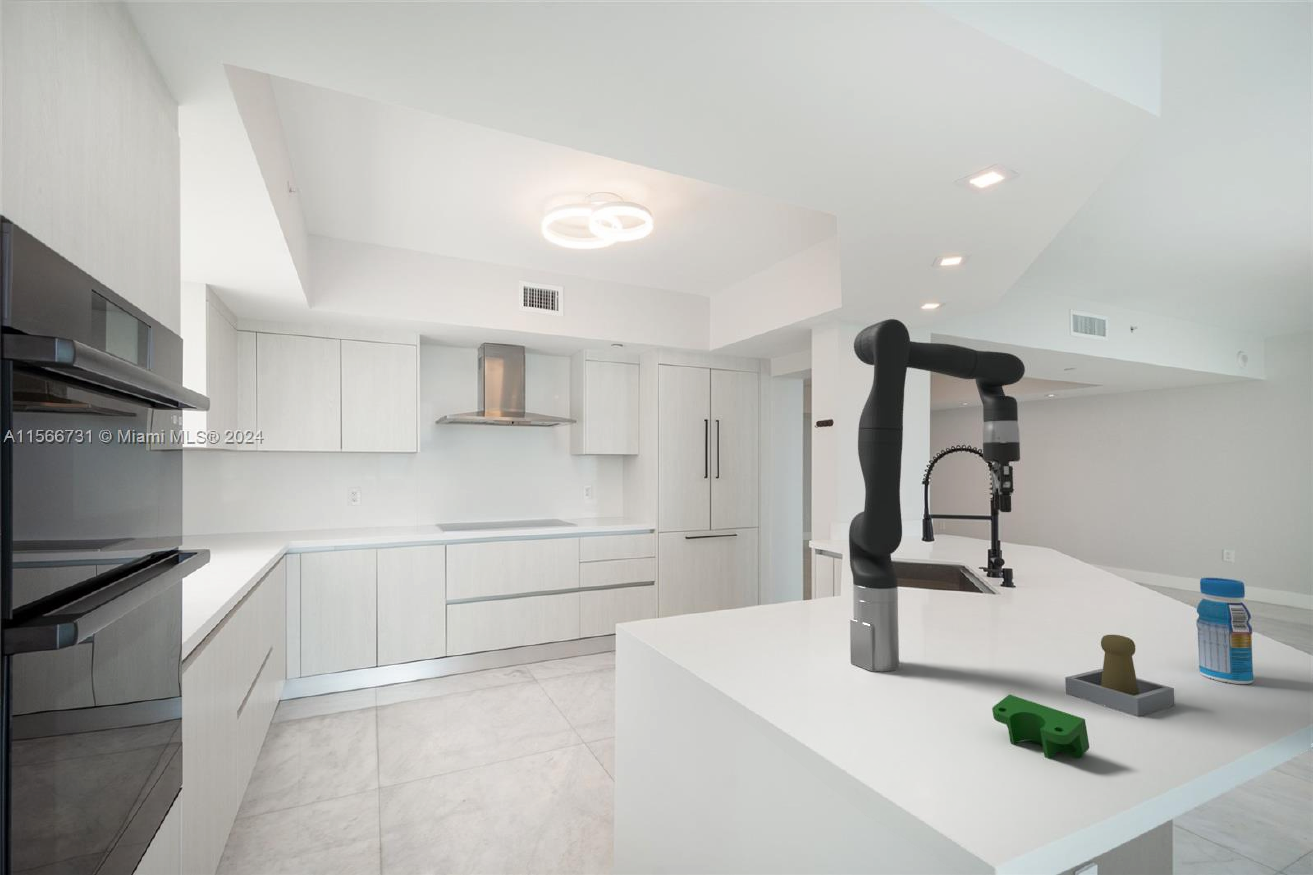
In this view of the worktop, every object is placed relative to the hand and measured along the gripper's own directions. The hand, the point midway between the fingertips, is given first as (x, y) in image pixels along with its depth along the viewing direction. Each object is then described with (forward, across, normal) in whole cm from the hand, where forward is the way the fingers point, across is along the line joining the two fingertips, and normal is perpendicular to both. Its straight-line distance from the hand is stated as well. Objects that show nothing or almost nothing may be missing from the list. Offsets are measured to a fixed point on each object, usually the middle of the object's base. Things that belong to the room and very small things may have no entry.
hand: (1002, 510), depth 141 cm
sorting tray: (+33, +22, +15) cm, 43 cm away
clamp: (+33, +51, -3) cm, 61 cm away
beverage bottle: (+33, -1, +40) cm, 52 cm away
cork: (+33, +22, +16) cm, 42 cm away
